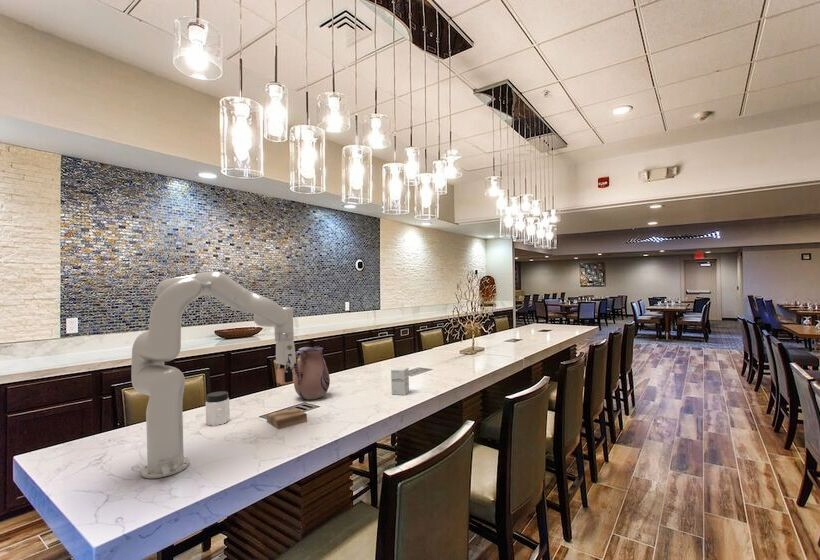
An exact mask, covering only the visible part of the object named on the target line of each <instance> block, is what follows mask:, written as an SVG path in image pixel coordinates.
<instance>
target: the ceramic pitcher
mask: <svg viewBox="0 0 820 560" xmlns="http://www.w3.org/2000/svg"><path fill="white" fill-rule="evenodd" d="M323 350H324V347H321V346H312V347H311V346H303V347H300V348H298V350H297V351H296V352H295V355H296V363H295V364H294V367H293V368H294V369H295V382H293V386H294V387H293V388H294V390H295V393H296V394H297V395H298V396H299V397H300V398H301V399H303V400H307V401H308V400H310V401H312V400H317V399H321V398H322V397H323V396H325V395H326V393H327V391H329V387H330V384H331V383H330V382H331V379H330V374H329V369H328V367H327V364H326V361H325V358H324V356H323ZM298 360H299V361H298Z"/></svg>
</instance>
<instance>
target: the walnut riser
mask: <svg viewBox="0 0 820 560" xmlns="http://www.w3.org/2000/svg"><path fill="white" fill-rule="evenodd" d="M307 421H308V415H307V413H306V412H304V411H302V410H300V409H298V408H296V407H294V408H288V409H284V410H279V411H277V412H272V413H268V414H266V422H267V423H268V422H269V424H270V425H271V426H273V427H275V428H276V429H283V428H287V427H290V426H294V425H297V424H302V423H305V422H307Z"/></svg>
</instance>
